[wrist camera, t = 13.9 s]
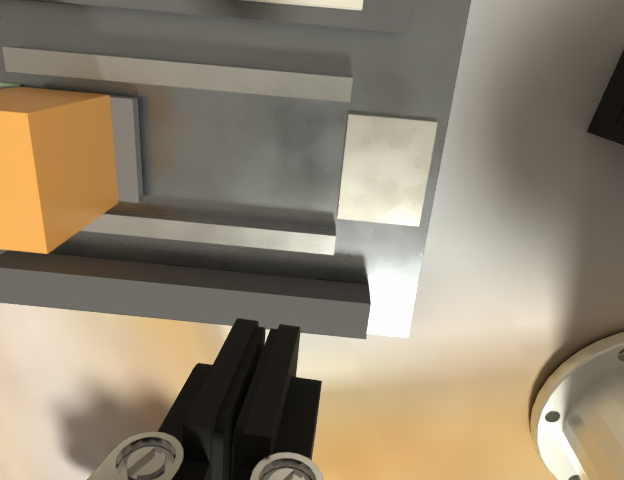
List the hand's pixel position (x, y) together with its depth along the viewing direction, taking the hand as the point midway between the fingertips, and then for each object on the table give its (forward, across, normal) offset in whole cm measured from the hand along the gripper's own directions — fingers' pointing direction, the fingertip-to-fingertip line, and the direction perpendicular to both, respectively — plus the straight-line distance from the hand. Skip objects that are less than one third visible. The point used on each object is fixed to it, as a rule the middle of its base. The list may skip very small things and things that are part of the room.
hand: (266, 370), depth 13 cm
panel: (+14, +6, -3) cm, 15 cm away
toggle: (+11, +11, -3) cm, 16 cm away
